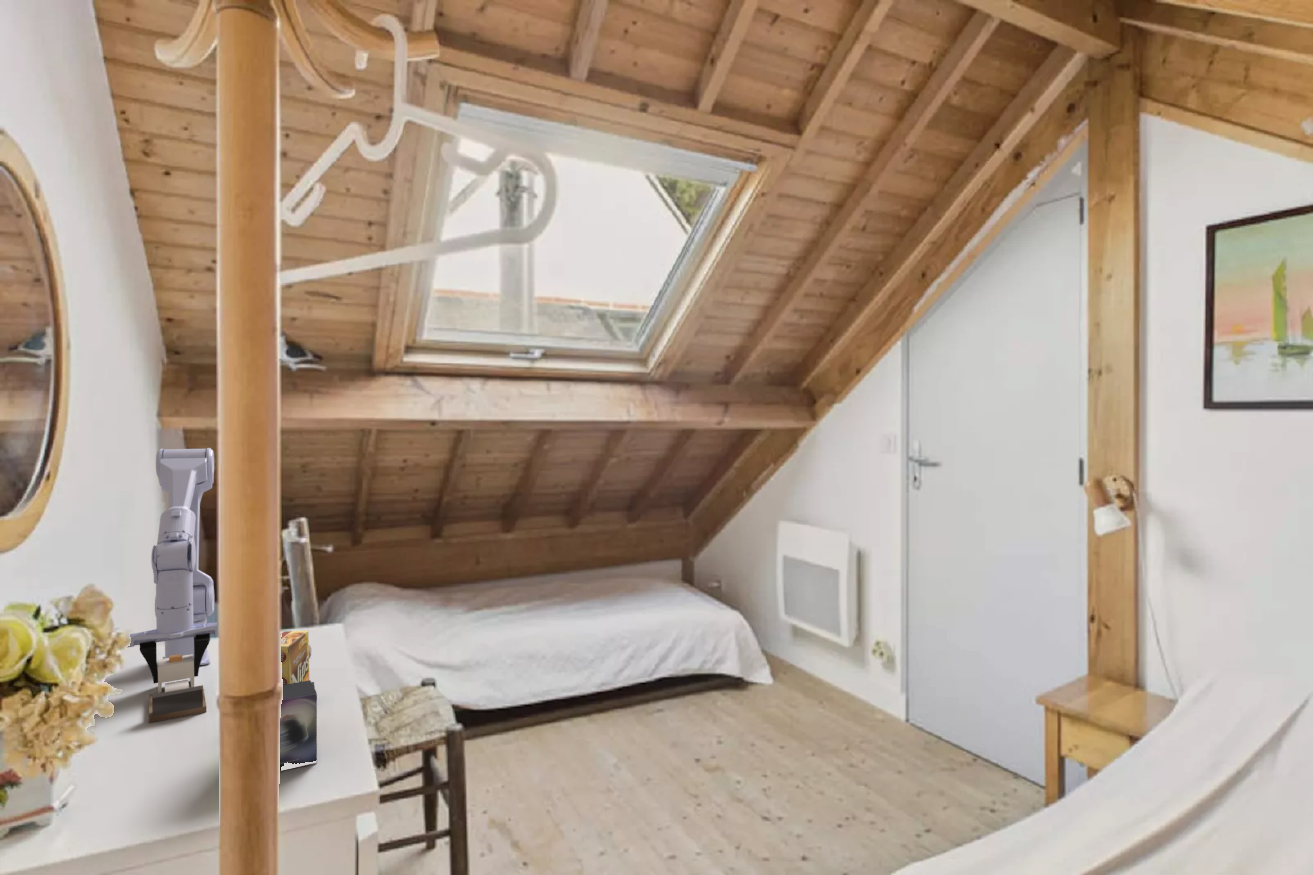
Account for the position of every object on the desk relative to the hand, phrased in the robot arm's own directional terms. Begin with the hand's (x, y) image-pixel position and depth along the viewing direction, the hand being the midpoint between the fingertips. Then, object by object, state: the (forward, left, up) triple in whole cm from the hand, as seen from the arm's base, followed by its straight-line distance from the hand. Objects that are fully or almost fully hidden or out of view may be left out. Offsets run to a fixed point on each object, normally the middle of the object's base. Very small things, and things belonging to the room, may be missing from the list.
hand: (176, 678), depth 134 cm
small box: (+45, +11, -2) cm, 46 cm away
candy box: (+35, +14, -2) cm, 38 cm away
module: (0, 0, -2) cm, 2 cm away
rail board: (+11, 0, -2) cm, 11 cm away
